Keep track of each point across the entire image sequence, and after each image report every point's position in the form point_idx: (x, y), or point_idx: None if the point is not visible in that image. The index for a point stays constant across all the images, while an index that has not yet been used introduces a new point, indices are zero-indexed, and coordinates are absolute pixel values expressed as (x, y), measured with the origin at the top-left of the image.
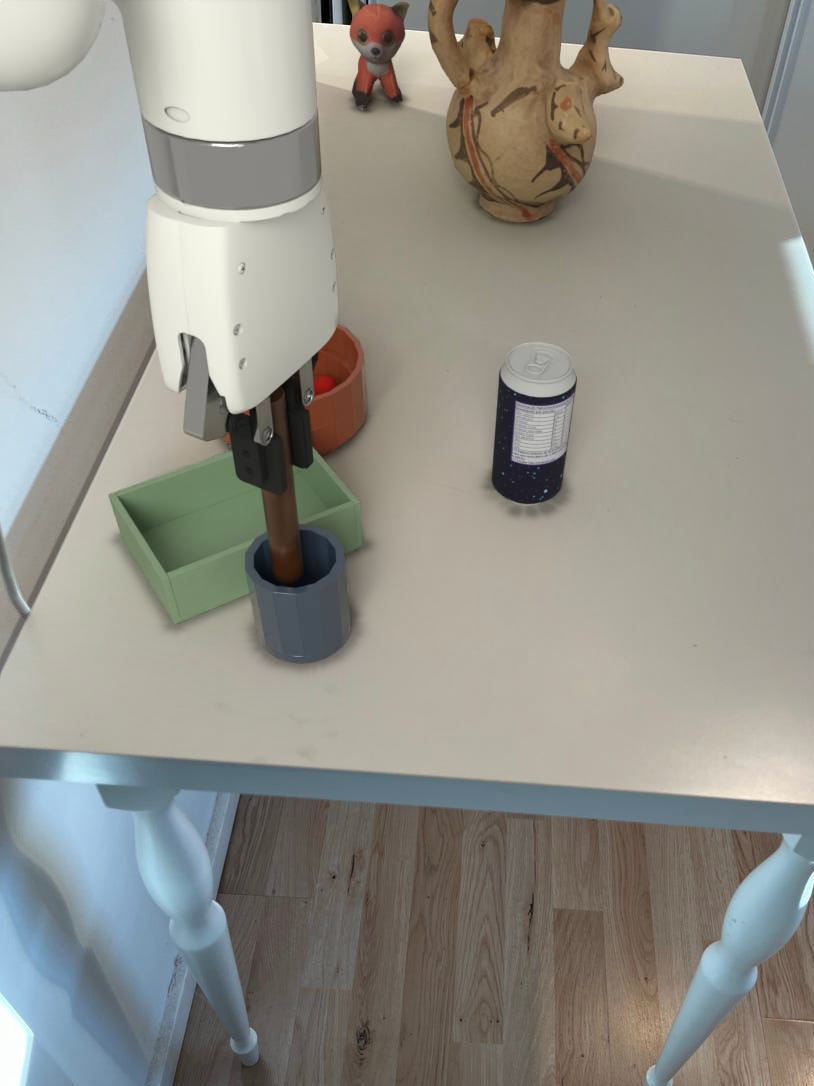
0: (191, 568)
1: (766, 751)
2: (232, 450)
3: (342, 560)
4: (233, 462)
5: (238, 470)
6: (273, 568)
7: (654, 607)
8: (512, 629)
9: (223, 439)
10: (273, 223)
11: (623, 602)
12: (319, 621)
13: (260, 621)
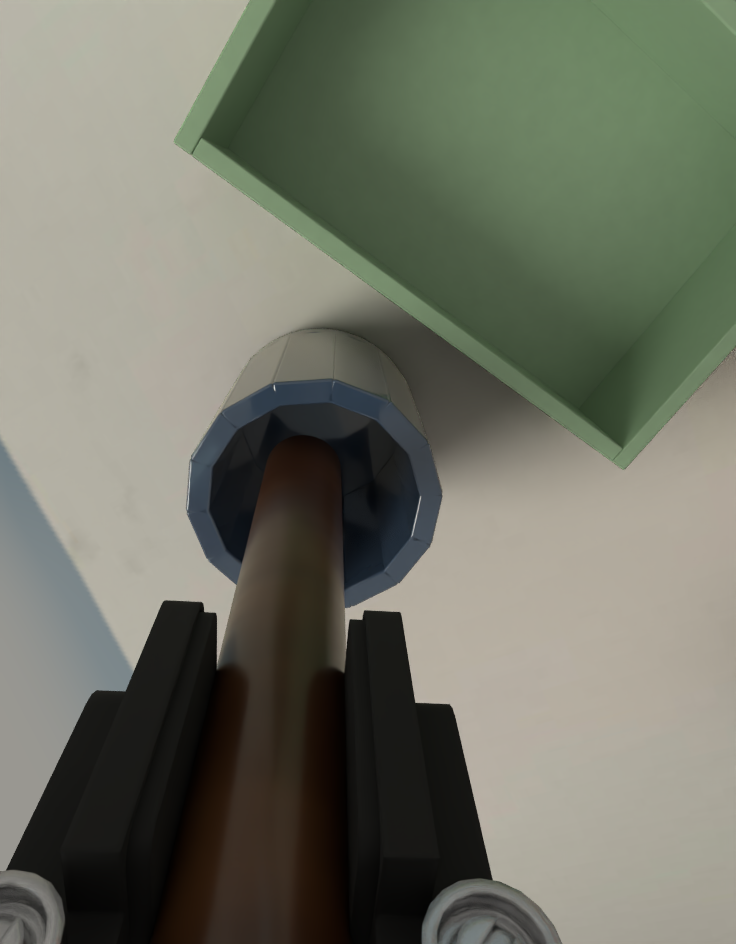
0: (248, 195)
1: None
2: (123, 697)
3: (353, 600)
4: (715, 39)
5: (86, 707)
6: (268, 464)
7: (575, 855)
8: (461, 715)
9: None
10: None
11: (572, 822)
12: None
13: (220, 406)
